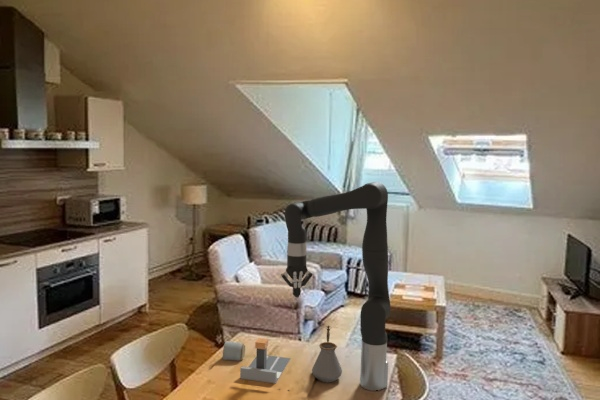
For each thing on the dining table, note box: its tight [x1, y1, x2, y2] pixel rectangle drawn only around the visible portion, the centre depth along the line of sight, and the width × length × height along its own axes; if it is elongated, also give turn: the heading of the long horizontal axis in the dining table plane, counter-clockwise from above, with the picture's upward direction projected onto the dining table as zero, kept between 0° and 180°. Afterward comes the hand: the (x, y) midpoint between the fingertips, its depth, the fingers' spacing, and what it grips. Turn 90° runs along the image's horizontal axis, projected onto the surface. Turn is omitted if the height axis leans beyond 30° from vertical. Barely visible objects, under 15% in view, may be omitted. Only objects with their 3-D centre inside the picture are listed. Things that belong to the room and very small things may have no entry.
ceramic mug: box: [222, 340, 246, 362], centre depth 204 cm, size 11×8×8 cm
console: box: [239, 354, 291, 385], centre depth 194 cm, size 22×14×5 cm, turn 167°
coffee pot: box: [311, 324, 343, 383], centre depth 193 cm, size 21×12×15 cm, turn 176°
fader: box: [254, 337, 269, 369], centre depth 187 cm, size 4×4×13 cm
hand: (296, 296), depth 196 cm, fingers closed
